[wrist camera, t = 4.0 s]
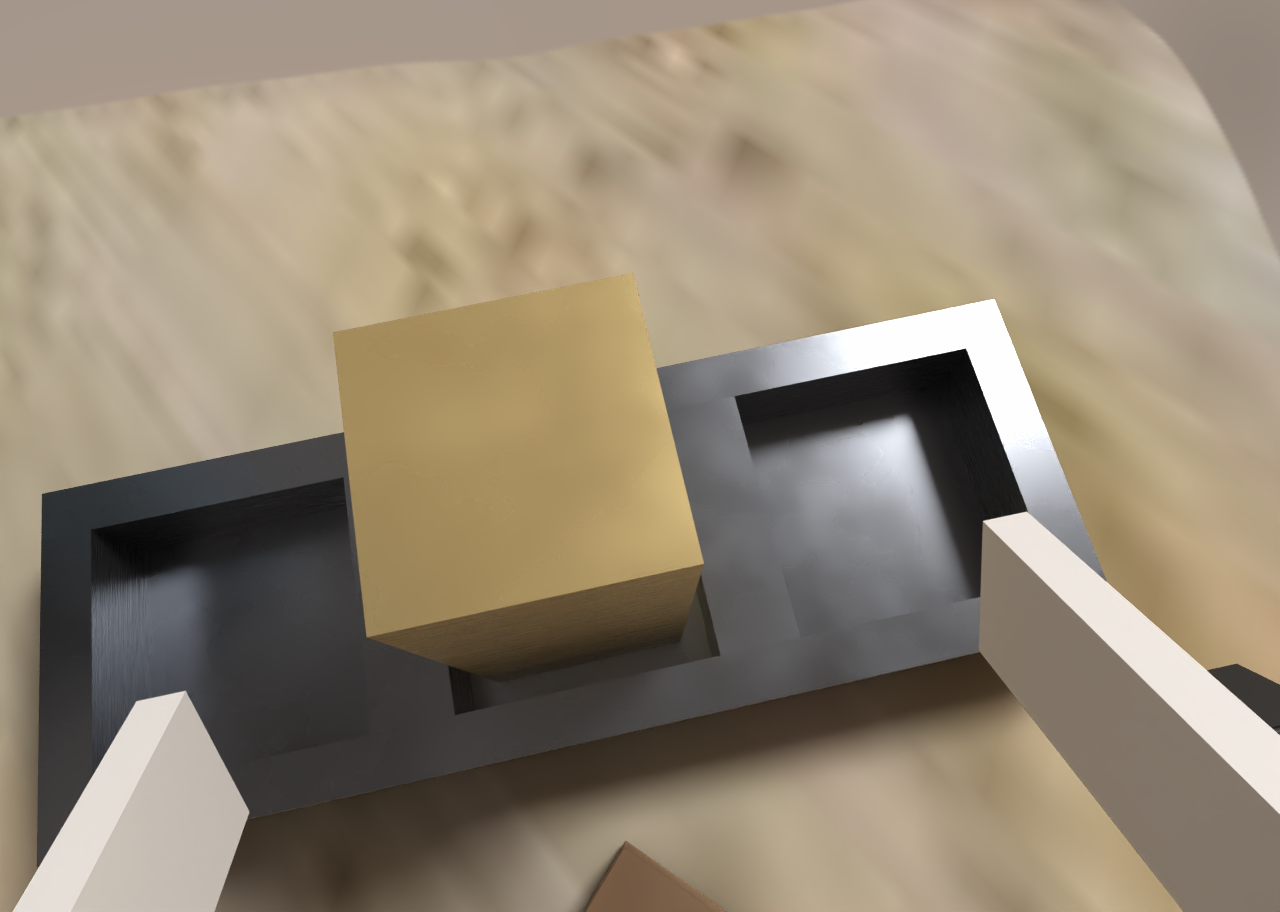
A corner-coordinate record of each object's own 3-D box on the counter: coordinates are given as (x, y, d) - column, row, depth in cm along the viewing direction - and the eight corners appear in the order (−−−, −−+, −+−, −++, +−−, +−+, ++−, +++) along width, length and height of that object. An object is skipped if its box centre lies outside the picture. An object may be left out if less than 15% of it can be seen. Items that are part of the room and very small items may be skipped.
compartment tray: (117, 850, 22) (36, 867, 19) (112, 521, 25) (42, 493, 22) (1063, 633, 23) (1121, 619, 20) (956, 346, 26) (994, 299, 23)
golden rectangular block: (499, 682, 22) (366, 636, 12) (471, 507, 24) (332, 332, 14) (679, 642, 23) (703, 563, 12) (641, 471, 24) (632, 273, 14)
